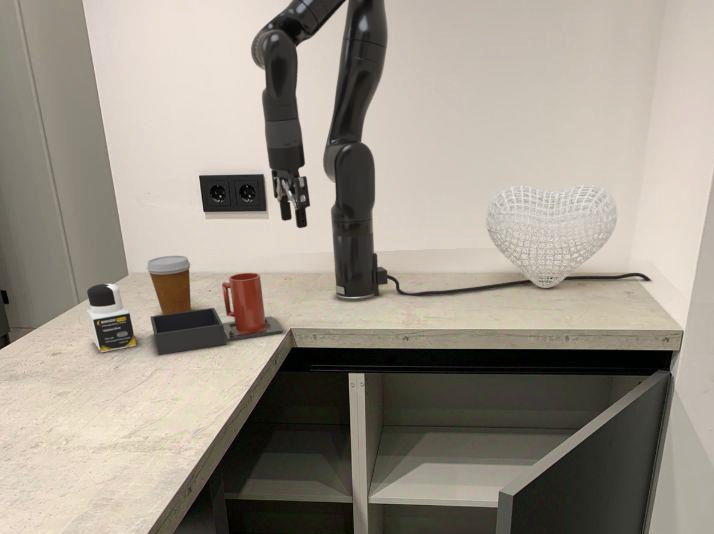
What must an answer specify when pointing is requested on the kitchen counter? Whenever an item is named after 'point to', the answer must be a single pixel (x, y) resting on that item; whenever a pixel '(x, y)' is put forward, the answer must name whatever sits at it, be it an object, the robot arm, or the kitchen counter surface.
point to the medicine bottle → (109, 318)
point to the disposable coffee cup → (171, 283)
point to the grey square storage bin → (187, 331)
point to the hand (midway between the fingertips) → (294, 223)
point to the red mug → (245, 302)
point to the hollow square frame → (232, 336)
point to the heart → (551, 196)
